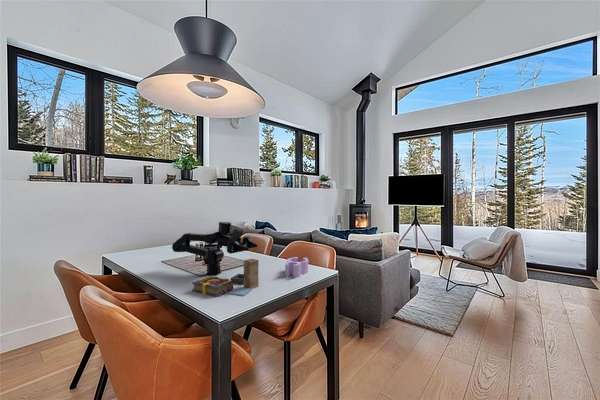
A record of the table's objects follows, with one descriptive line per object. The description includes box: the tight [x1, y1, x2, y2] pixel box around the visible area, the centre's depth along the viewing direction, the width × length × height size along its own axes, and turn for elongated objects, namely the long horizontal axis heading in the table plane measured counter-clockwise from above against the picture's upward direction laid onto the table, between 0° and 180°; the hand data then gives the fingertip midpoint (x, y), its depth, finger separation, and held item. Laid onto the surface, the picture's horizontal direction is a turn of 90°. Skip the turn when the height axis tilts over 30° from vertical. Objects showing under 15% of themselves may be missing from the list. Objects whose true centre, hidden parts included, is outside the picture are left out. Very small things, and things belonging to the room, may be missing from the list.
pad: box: [227, 286, 253, 297], centre depth 124 cm, size 8×8×1 cm
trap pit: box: [230, 273, 244, 285], centre depth 140 cm, size 8×8×2 cm
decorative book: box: [191, 276, 234, 298], centre depth 126 cm, size 11×16×5 cm
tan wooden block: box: [243, 258, 259, 290], centre depth 131 cm, size 5×5×13 cm
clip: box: [284, 256, 309, 279], centre depth 156 cm, size 20×12×7 cm, turn 163°
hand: (252, 247), depth 144 cm, fingers open, 9 cm apart
